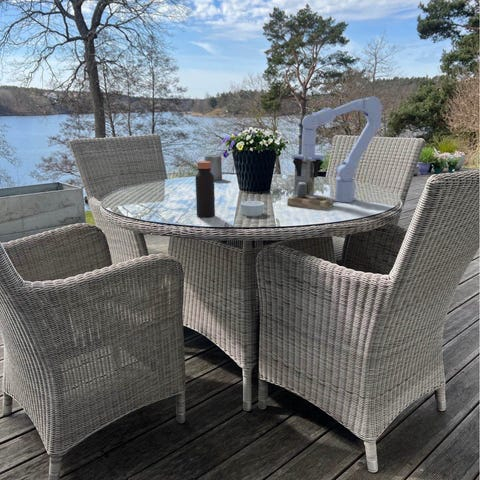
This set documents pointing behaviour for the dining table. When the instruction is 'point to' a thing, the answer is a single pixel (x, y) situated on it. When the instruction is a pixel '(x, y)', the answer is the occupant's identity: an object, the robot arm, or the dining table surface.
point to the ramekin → (252, 208)
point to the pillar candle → (215, 166)
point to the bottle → (205, 190)
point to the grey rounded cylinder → (301, 190)
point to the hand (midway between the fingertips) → (307, 176)
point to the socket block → (311, 202)
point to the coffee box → (305, 177)
